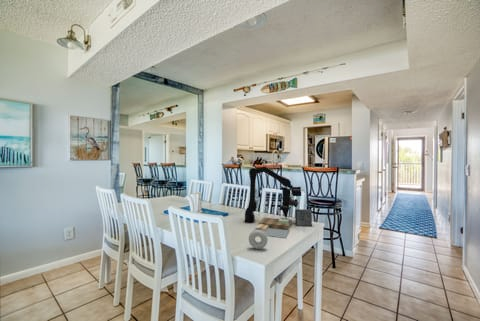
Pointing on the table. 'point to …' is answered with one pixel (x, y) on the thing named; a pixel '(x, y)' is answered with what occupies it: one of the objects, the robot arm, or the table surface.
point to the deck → (275, 223)
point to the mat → (276, 232)
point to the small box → (303, 217)
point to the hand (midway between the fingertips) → (286, 217)
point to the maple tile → (262, 227)
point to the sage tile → (284, 220)
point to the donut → (260, 234)
